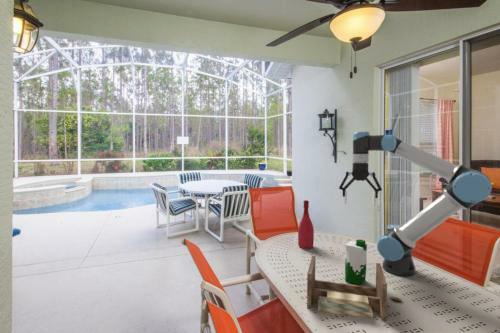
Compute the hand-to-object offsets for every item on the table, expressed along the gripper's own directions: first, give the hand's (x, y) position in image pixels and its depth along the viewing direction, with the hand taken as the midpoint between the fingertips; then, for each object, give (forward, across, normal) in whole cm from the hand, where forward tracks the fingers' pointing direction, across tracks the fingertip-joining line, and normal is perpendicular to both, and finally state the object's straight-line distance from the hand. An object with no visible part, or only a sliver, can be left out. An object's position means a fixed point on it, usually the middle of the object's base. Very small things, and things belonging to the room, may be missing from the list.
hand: (359, 203), depth 144 cm
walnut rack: (+35, -7, -35) cm, 50 cm away
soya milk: (+35, -2, -14) cm, 38 cm away
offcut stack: (+35, -8, -41) cm, 54 cm away
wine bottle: (+35, -30, +26) cm, 53 cm away
